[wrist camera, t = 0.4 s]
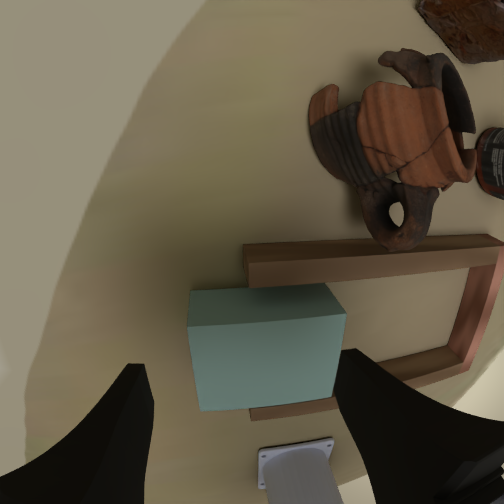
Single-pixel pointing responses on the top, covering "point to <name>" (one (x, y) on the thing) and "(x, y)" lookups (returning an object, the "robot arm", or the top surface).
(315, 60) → the top surface
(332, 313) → the block
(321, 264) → the guide channel
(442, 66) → the pottery mug
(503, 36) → the food item
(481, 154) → the supplement bottle
